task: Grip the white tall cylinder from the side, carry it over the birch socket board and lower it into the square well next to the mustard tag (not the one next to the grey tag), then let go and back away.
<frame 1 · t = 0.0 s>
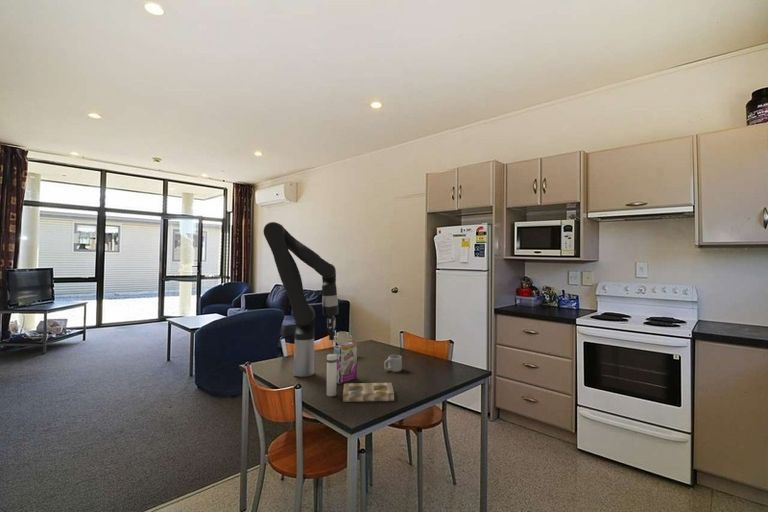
hand: (332, 338, 176), 17 cm above the table, tool pointing down, fingers open, 8 cm apart
white tall cylinder: (331, 394, 149), on the table
candy bar box: (345, 380, 167), on the table
mug: (392, 370, 182), on the table
socket board: (368, 395, 148), on the table
character mug: (342, 355, 209), on the table
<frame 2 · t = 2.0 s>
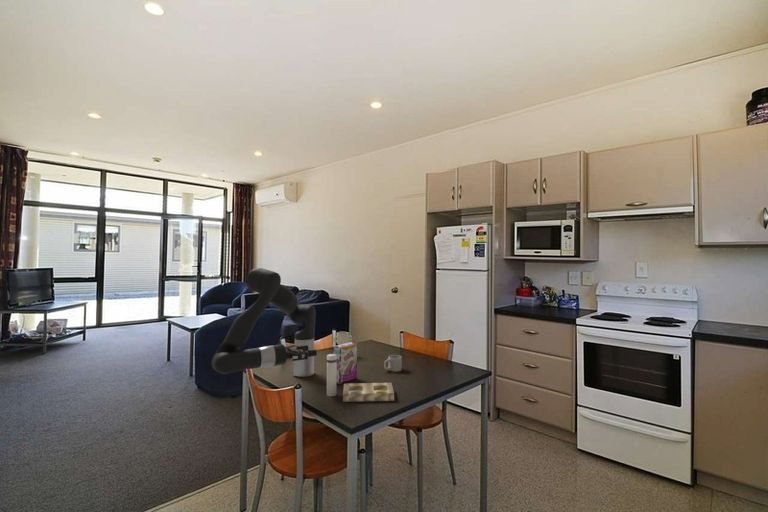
hand: (312, 350, 145), 19 cm above the table, tool horizontal, fingers open, 8 cm apart
nothing on the table moved.
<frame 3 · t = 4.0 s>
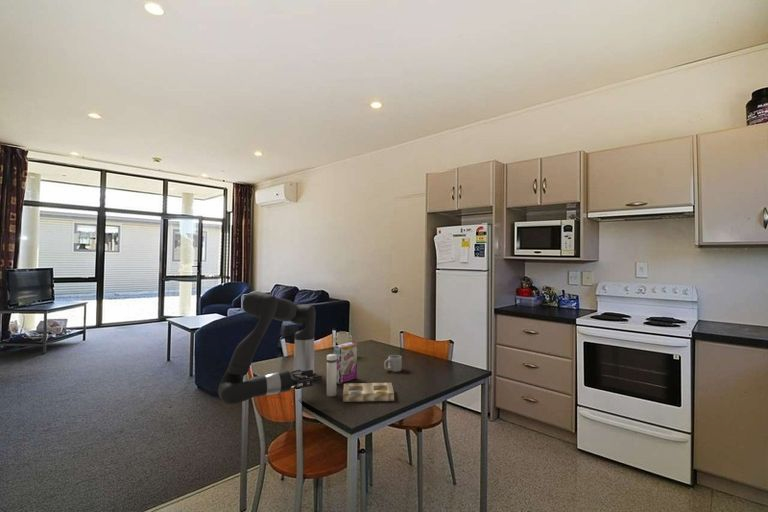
hand: (316, 375, 146), 9 cm above the table, tool horizontal, fingers open, 8 cm apart
nothing on the table moved.
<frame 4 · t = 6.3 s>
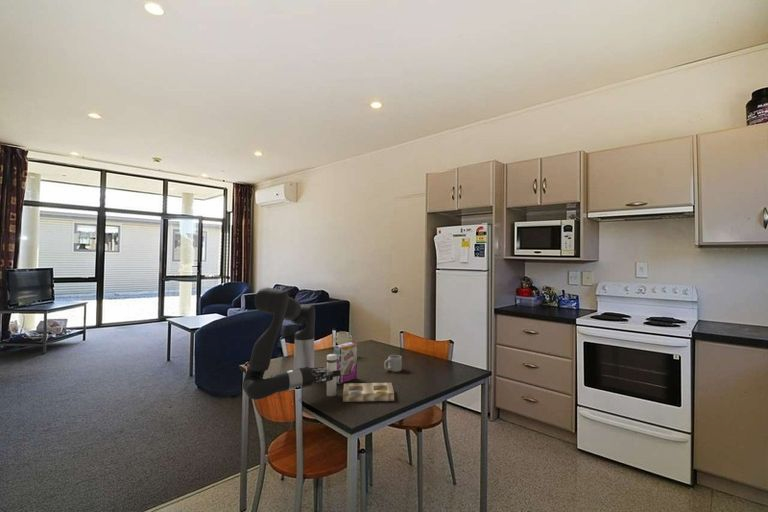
hand: (337, 371, 151), 9 cm above the table, tool horizontal, fingers closed on white tall cylinder, 4 cm apart
white tall cylinder: (331, 394, 149), on the table, touching gripper
everything else where it was.
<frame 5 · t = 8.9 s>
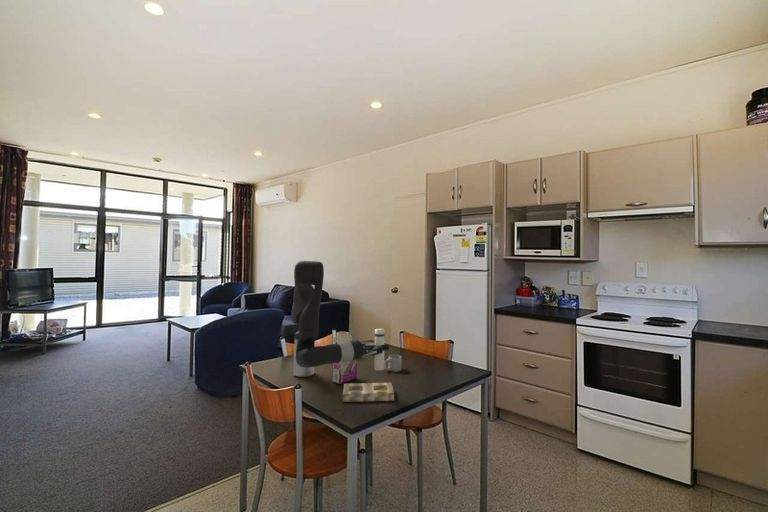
hand: (385, 345, 150), 20 cm above the table, tool horizontal, fingers closed on white tall cylinder, 4 cm apart
white tall cylinder: (379, 368, 148), point 11 cm above the table, touching gripper
everything else where it was.
when the fingers open (10 cm above the table, at t = 11.6 s): white tall cylinder drops 1 cm, resting in socket board.
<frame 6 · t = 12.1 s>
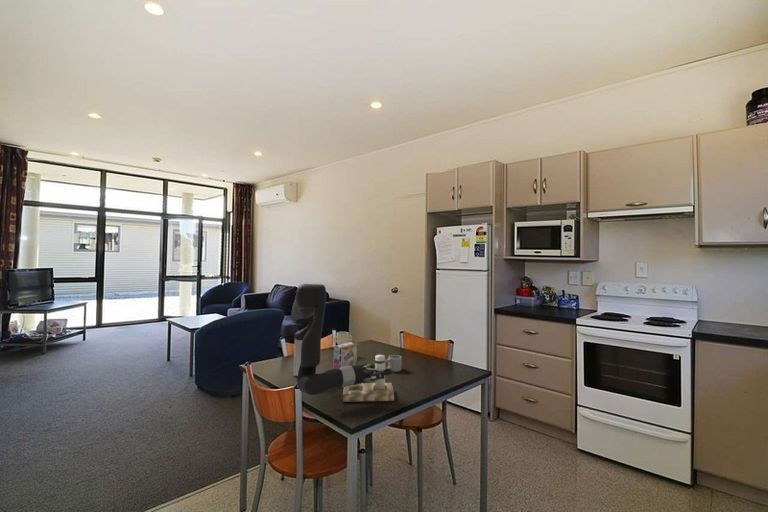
hand: (384, 368, 150), 11 cm above the table, tool horizontal, fingers open, 8 cm apart
white tall cylinder: (380, 395, 149), resting in socket board
everything else where it was.
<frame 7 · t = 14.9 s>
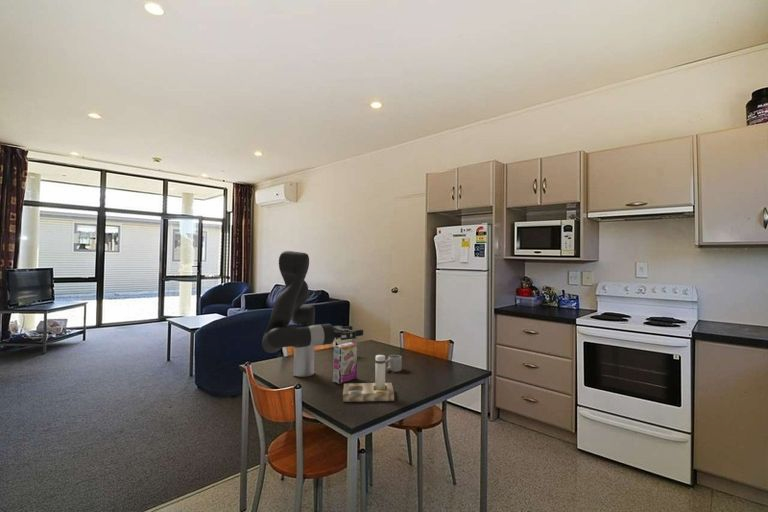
hand: (357, 330, 143), 28 cm above the table, tool horizontal, fingers open, 8 cm apart
nothing on the table moved.
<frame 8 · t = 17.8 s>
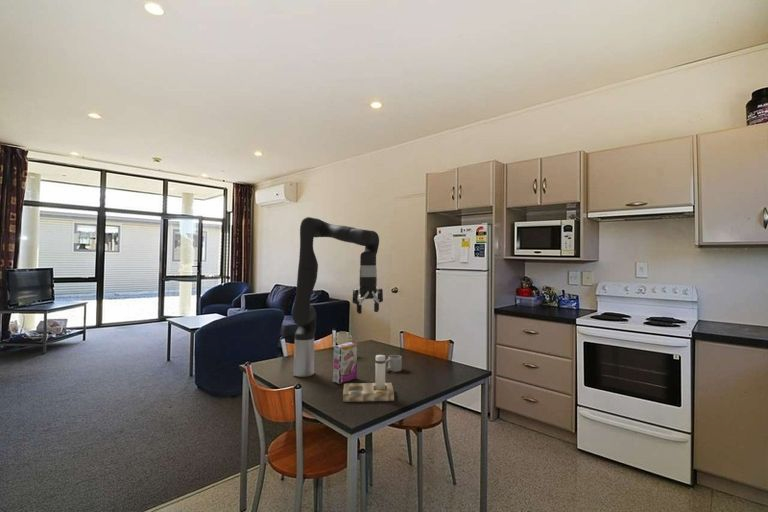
hand: (367, 312, 159), 32 cm above the table, tool pointing down, fingers open, 8 cm apart
nothing on the table moved.
at the end: white tall cylinder 0.1 cm from the target spot on the socket board, point 0.0 cm above the socket board's base; white tall cylinder tilted 0°; the gripper is holding nothing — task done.
